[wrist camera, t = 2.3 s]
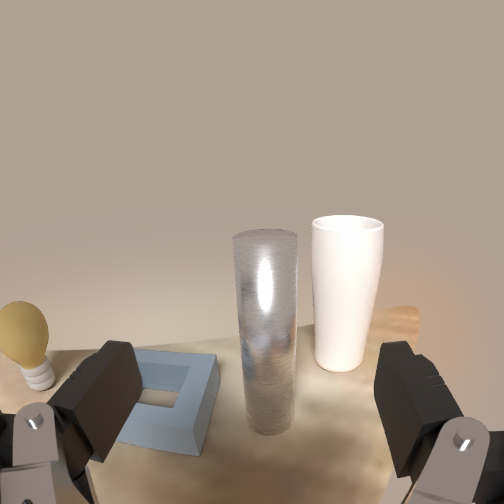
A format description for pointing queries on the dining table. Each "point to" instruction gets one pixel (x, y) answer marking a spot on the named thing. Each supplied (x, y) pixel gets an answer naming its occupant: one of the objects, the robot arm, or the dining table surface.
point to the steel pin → (267, 325)
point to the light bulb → (27, 343)
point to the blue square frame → (186, 406)
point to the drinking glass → (344, 287)
